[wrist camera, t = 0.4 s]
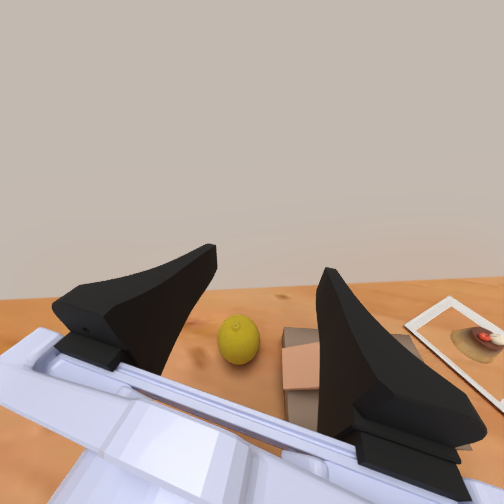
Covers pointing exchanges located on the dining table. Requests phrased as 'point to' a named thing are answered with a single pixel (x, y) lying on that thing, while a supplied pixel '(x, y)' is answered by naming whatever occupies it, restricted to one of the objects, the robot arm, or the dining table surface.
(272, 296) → the dining table surface
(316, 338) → the socket block
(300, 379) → the bar
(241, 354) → the lemon
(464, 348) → the dessert
